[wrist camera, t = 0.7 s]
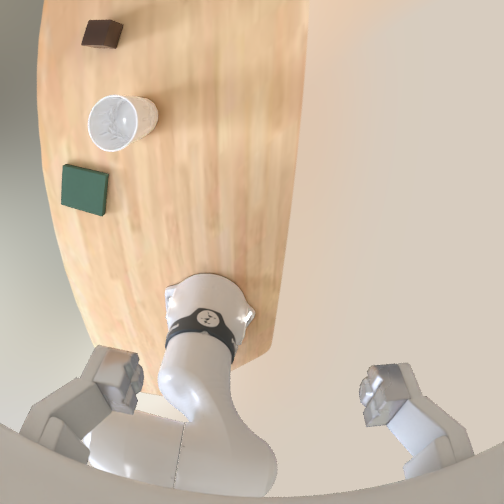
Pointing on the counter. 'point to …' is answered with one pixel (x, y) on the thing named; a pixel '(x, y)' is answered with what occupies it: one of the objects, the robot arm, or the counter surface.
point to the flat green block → (84, 189)
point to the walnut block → (102, 34)
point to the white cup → (121, 121)
